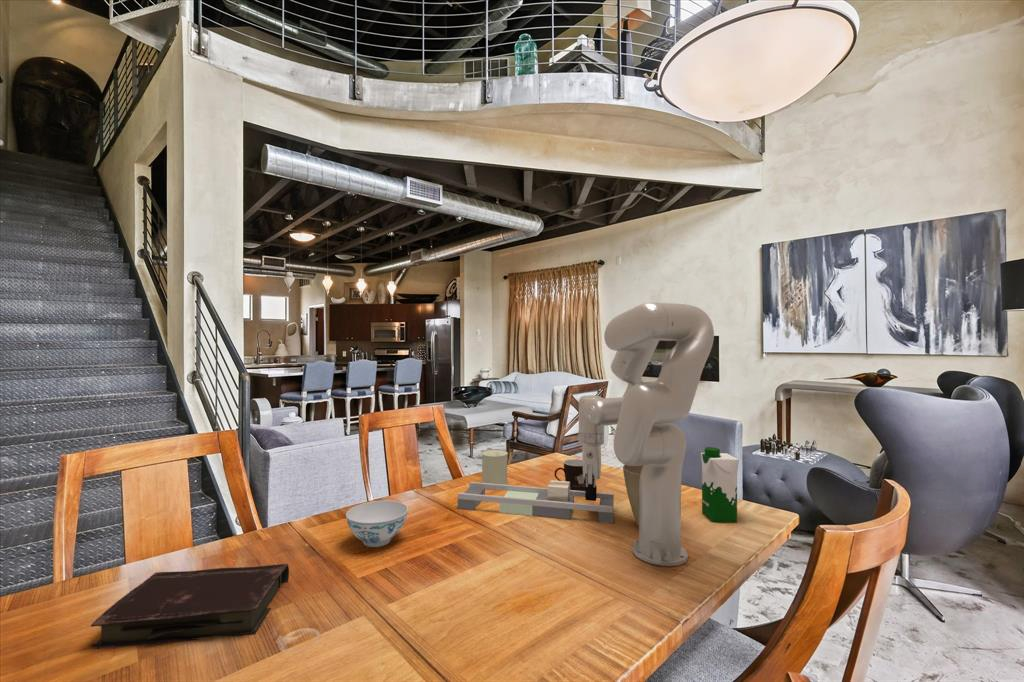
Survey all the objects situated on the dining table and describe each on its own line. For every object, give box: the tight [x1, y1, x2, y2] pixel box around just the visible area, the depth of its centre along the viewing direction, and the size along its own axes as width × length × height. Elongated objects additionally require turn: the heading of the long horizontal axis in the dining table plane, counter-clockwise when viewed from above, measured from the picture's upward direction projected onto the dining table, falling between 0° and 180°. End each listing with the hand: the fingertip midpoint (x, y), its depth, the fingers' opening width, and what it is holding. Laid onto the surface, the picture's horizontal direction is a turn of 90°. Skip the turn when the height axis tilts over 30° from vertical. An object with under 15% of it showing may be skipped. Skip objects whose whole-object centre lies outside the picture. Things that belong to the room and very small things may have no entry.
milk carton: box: [700, 446, 740, 523], centre depth 131 cm, size 9×9×20 cm
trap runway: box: [457, 481, 615, 524], centre depth 137 cm, size 12×46×4 cm, turn 77°
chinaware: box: [345, 499, 409, 548], centre depth 114 cm, size 15×15×8 cm
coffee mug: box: [554, 458, 586, 491], centre depth 153 cm, size 12×9×10 cm
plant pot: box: [622, 464, 643, 527], centre depth 125 cm, size 15×15×16 cm
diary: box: [90, 563, 290, 649], centre depth 84 cm, size 19×25×5 cm
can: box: [481, 449, 509, 491], centre depth 159 cm, size 9×9×12 cm
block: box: [547, 479, 570, 502], centre depth 136 cm, size 6×6×5 cm
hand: (590, 499), depth 133 cm, fingers closed
